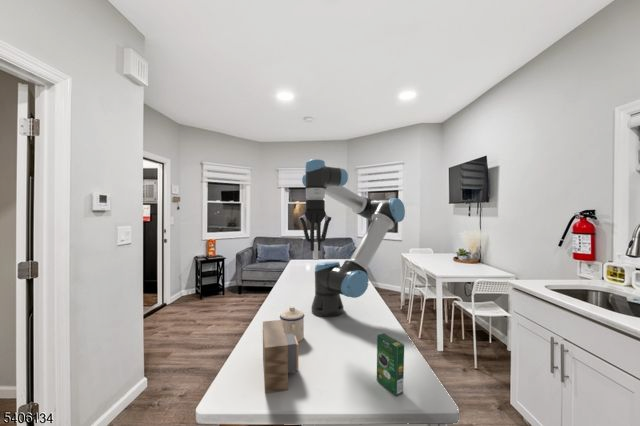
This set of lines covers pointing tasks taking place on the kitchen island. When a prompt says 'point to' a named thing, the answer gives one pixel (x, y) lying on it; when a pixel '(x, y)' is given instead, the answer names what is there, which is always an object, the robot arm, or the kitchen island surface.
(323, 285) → the robot arm
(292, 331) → the teacup with lid
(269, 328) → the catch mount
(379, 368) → the coffee box
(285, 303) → the kitchen island surface
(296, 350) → the gray housing block
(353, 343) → the kitchen island surface
